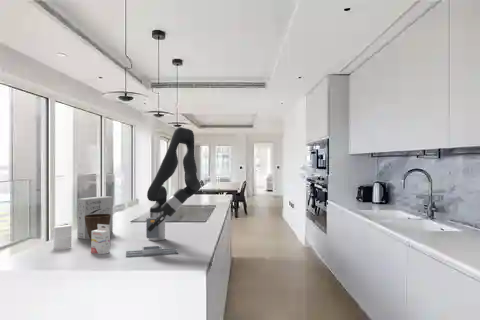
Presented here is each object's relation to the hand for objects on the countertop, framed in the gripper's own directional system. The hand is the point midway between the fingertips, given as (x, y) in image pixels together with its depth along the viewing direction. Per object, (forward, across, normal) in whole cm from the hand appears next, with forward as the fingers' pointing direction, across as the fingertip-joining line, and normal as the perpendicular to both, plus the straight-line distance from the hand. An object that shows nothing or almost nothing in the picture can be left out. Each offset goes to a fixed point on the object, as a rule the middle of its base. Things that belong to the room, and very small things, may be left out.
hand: (148, 229), depth 185 cm
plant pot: (+29, -38, -12) cm, 49 cm away
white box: (+41, -28, -24) cm, 55 cm away
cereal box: (+31, -58, -14) cm, 67 cm away
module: (+2, 0, +4) cm, 5 cm away
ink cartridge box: (+26, -10, -8) cm, 29 cm away
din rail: (+8, 0, +10) cm, 13 cm away
